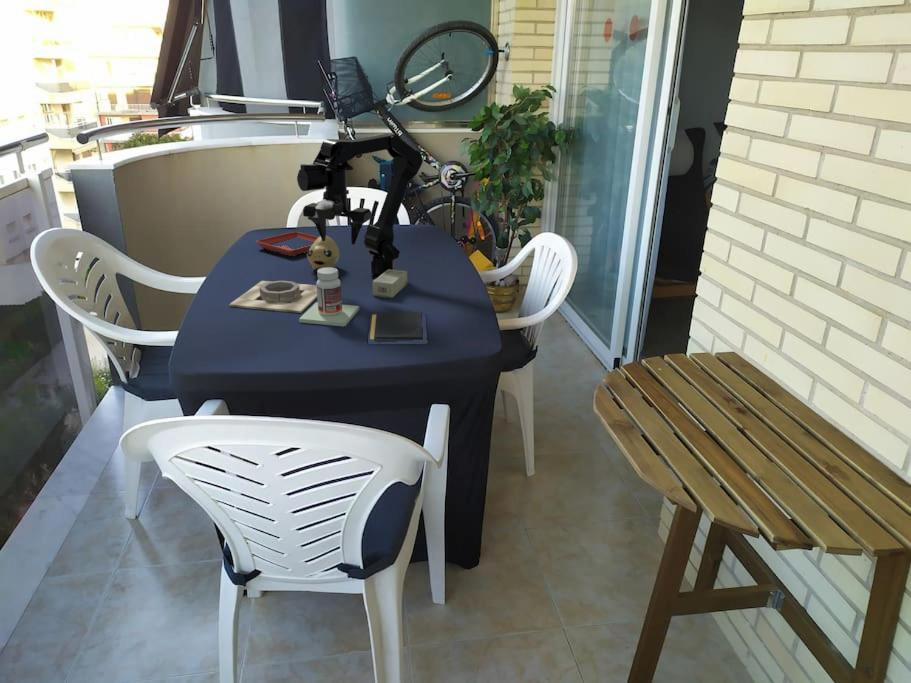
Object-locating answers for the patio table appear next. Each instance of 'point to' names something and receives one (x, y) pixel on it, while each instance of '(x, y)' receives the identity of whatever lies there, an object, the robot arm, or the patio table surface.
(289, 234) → the red square frame
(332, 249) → the beige toy figure
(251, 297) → the collar plate
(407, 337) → the dark book
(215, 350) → the patio table surface
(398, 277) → the skincare box
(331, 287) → the pill bottle
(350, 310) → the green mat
